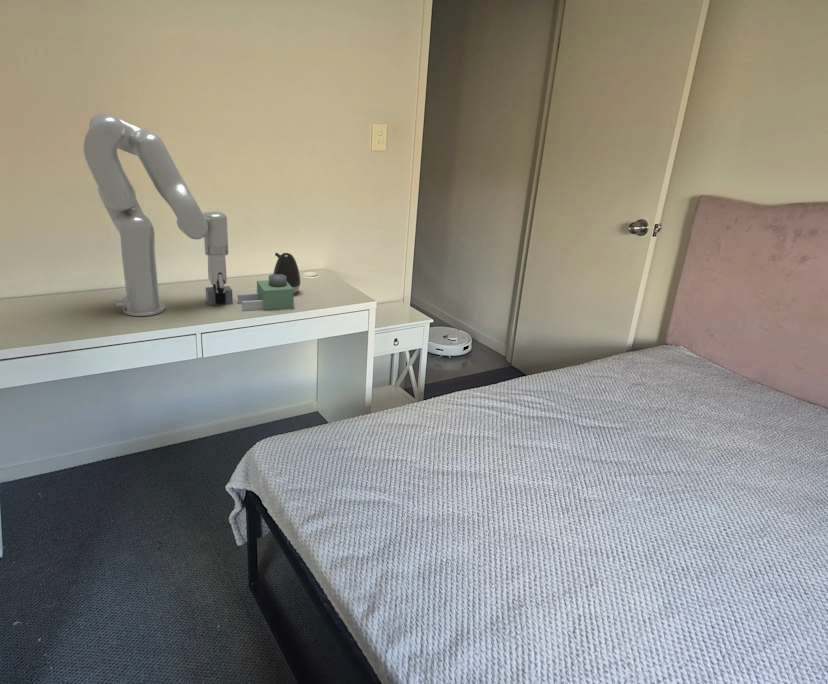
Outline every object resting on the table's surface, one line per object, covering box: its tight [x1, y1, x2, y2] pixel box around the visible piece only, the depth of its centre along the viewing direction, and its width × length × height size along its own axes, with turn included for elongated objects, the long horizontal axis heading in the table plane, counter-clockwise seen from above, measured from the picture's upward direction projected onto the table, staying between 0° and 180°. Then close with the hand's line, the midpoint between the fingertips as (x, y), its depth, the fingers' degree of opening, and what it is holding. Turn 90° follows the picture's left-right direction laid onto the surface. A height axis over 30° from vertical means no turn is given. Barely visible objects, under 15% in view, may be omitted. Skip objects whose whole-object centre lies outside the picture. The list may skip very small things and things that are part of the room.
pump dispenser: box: [273, 252, 301, 294], centre depth 219 cm, size 10×10×15 cm
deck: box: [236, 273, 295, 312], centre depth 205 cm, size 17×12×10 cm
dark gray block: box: [204, 285, 234, 307], centre depth 205 cm, size 8×5×5 cm, turn 118°
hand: (219, 300), depth 206 cm, fingers closed on dark gray block, 5 cm apart
